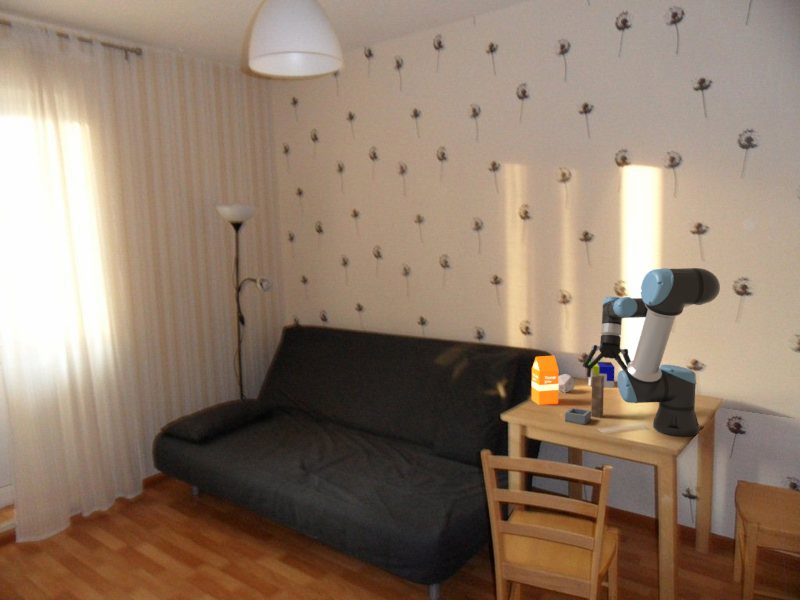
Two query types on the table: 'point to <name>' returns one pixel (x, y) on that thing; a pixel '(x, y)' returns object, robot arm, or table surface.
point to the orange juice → (545, 380)
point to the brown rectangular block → (597, 396)
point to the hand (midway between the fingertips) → (607, 388)
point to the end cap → (578, 416)
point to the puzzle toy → (605, 373)
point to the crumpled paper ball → (565, 383)
